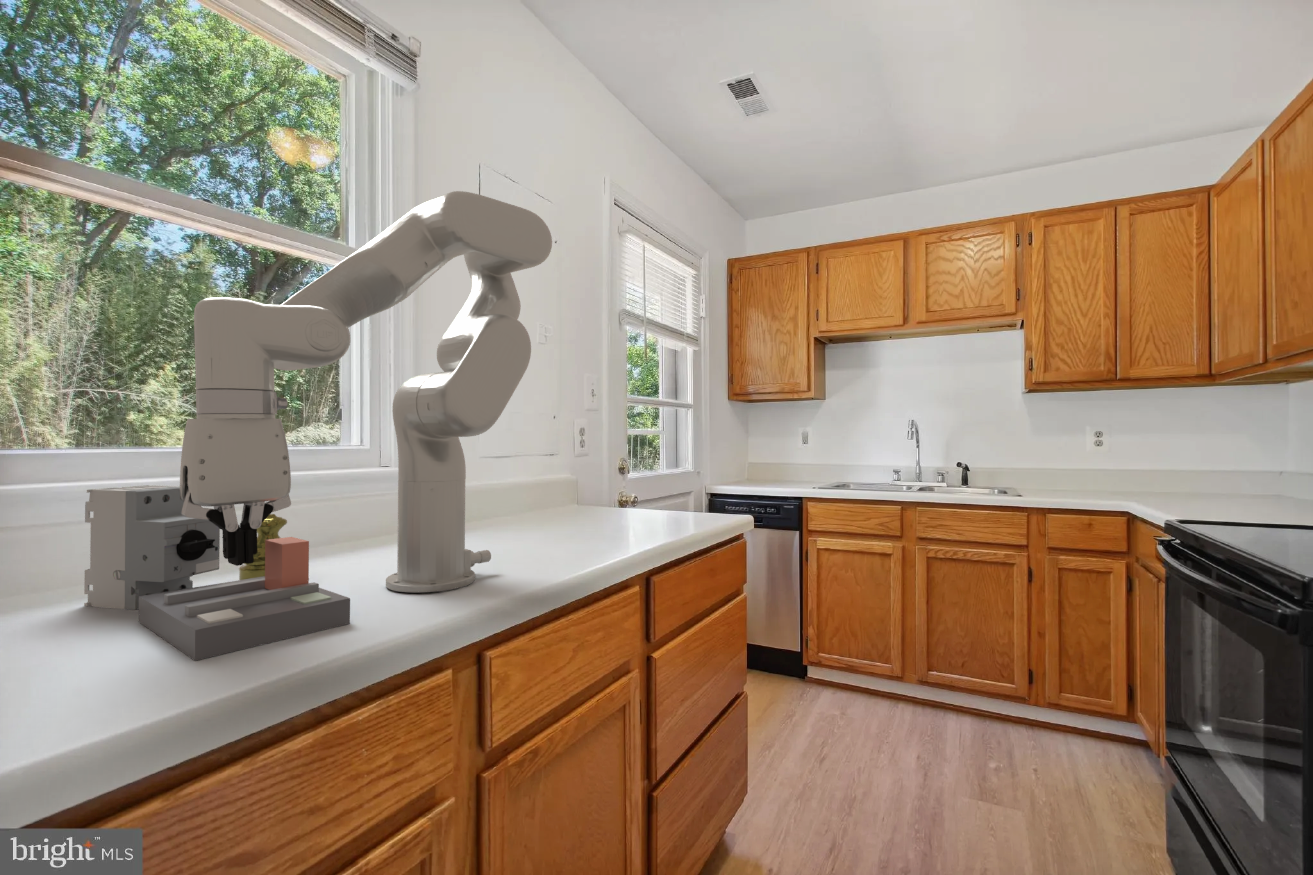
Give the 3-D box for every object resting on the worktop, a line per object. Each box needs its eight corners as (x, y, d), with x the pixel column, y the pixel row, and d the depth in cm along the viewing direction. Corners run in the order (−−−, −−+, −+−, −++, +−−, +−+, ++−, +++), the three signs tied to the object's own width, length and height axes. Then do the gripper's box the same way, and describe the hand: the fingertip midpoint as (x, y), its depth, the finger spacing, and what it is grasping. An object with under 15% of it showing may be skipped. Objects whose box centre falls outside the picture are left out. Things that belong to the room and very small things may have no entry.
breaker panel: (279, 595, 82) (279, 566, 82) (349, 623, 70) (350, 589, 70) (138, 621, 70) (138, 587, 70) (194, 660, 58) (195, 619, 58)
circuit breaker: (174, 613, 74) (175, 492, 74) (84, 605, 77) (85, 489, 77) (229, 597, 81) (230, 487, 81) (144, 591, 84) (145, 485, 84)
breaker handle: (291, 583, 77) (291, 536, 77) (308, 589, 74) (308, 541, 74) (264, 587, 74) (265, 539, 74) (281, 594, 71) (282, 544, 71)
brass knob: (300, 572, 97) (301, 510, 97) (288, 583, 90) (289, 516, 90) (247, 575, 94) (248, 512, 94) (231, 586, 87) (231, 518, 87)
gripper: (292, 408, 78) (295, 548, 78) (145, 406, 66) (150, 571, 66) (318, 407, 73) (322, 555, 74) (166, 404, 61) (171, 581, 62)
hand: (240, 562), depth 70 cm, fingers closed
